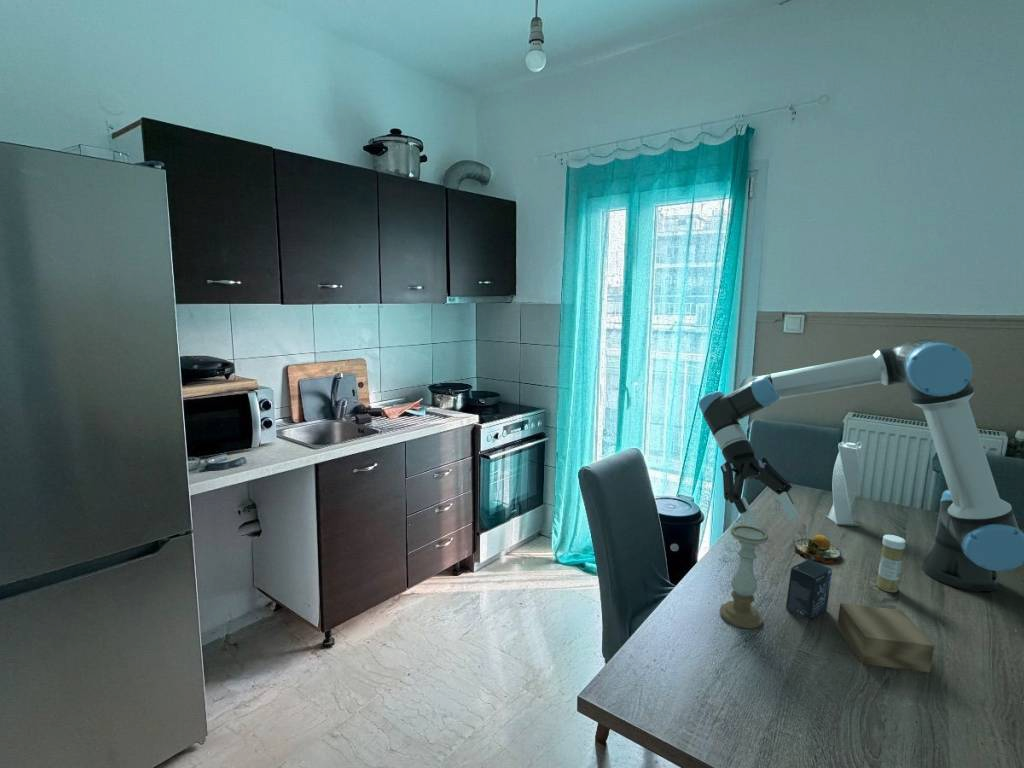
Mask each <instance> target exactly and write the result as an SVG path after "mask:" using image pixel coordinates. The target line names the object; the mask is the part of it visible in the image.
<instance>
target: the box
mask: <svg viewBox="0 0 1024 768" xmlns="http://www.w3.org/2000/svg"><path fill="white" fill-rule="evenodd" d="M832 574H833V568H831V567H830V566H826V565H824V564H823V563H819V562H817V561H816V560H813V561H812V560H811V559H806V560H804V561H802V562H800V563H798V564H795V565H794V566H791V567H790V577H789V582H788V583H789V584H788V591H787V596H786V597H787V598H786V604H785V605H786V606H785V609H786V610H788V611H790V612H792V613H794V614H796V615H797V616H800V617H801V618H803V619H805V620H807V621H810V620H811V619H812V620H813V619H814V618H815V617H817V616H819V615H821V614H823V613H824V612H826V611H827V610H828V604H829V596H830V590H831V589H830V588H831V581H832Z"/></svg>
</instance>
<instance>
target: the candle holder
mask: <svg viewBox="0 0 1024 768" xmlns="http://www.w3.org/2000/svg"><path fill="white" fill-rule="evenodd" d="M730 535H731V537H733V538H734V539H736V540H737V541H738V543H739V544H740V549H739V550H737V555H738V556H739V563H738V567H737V569H736V571H735V572H734V574H733V575H732V577H731V579H730V586H731V588H732V591H731V597H732V600H729V601H727V602H725V603H723V604H722V605H721V606H720V609H719V614H720V616H721V618H722V619H723V620H724V621H726V622H727V623H729V624H730V625H733V626H735V627H738V628H742V629H756V628H759V627H760V626H762V624H763V615H762V614H761V613H760V612H759V611H758V610H757V608H756V607H755V606H753V605H752V604H753V603H754V602H755V599H756V598H755V596H754V595H755V593H757V590H758V583H757V579H756V577H755V573H754V560H755V559H757V557H758V556H757V554H756V552H755V550H756V548H757V547H759V545H763V544H765V543H768V541H769V535H768V533H767V532H766V531H764V530H763V529H761V528H757V527H754V526H747V525H742V524H741V525H734V526H733V527H732V528H731V529H730Z"/></svg>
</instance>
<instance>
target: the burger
mask: <svg viewBox="0 0 1024 768" xmlns="http://www.w3.org/2000/svg"><path fill="white" fill-rule="evenodd" d="M827 535H828V534H826V535H823V534H815V535H814V536H813V537H812V538H811V539H809V538H808V539H807V538H801V539H797V540H795V541H794V542H793V546H794V548H795V549H794V552H795V553H796V555H800V557H801V556H802V554H803V556H804V557H805V558H806V560H808V559H810V560H812V561H815V562H817V561H818V562H819V561H820V562H822V563H821V564H828V563H831V564H836V563H839V562H841V559H842V557H841V556H842V552H841V551H840V549H839V548H838V547H836V546H834V545H832V544H831V541H830V540H829V539H828V537H827Z"/></svg>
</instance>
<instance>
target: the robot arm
mask: <svg viewBox="0 0 1024 768" xmlns="http://www.w3.org/2000/svg"><path fill="white" fill-rule="evenodd" d="M972 377H973V364H972V362H971V359H970V358H969V356H968V355H967V353H965V352H964V351H963V350H962V349H961V348H959V347H958V346H956V345H954V344H951V343H948V342H944V341H936V340H932V339H916V340H913V341H912V340H911V341H908V342H905V343H902V344H898V345H894V346H890V347H886V348H880V349H876V351H875V352H873V354H870V355H864V356H858V357H854V358H848V359H842V360H838V361H837V360H836V361H833V362H828V363H827V362H825V363H822V364H817V365H811V366H806V367H799V368H795V369H791V370H784V371H779V372H774V373H769V374H764V375H749V376H748V377H747V376H746V378H743V380H742V381H741V382H740V385H739V386H738V387H739V388H737V389H735V390H733V391H732V392H730V393H728V394H726V395H725V394H724V393H723V392H721V391H713V392H711V393H708V394H707V393H706V395H704V396H703V397H702V398H701V399H700V400H699V403H698V405H699V409H700V411H701V414H702V417H703V418H704V421H705V422H706V424H707V426H708V428H709V430H710V431H711V434H712V436H713V438H714V441H716V444H717V447H718V448H719V450H720V451H721V454H722V456H723V458H724V461H725V462H724V463H723V464H721V466H720V469H721V472H722V481H723V497H724V498H723V499H724V500H726V501H729V502H730V503H731V504H733V503H734V505H735V507H736V509H737V511H738V513H739V514H741V515H742V518H743V520H744V522H745V525H746V526H751V527H754V525H756V524H758V522H757V519H756V518H755V516H754V513H753V511H752V509H751V507H750V506H749V504H748V501H747V499H746V497H742V494H743V489H744V483H745V480H747V479H751V480H752V479H754V480H757V481H760V482H761V483H762V484H763V485H765V486H766V487H768V488H769V489H770V490H772V491H773V492H775V494H777V496H776V498H777V500H778V501H779V504H780V505H781V507H782V510H783V511H784V513H785V515H786V517H787V519H788V520H789V521H793V520H794V519H796V518H798V517H799V516H800V514H799V513H798V511H797V509H796V507H795V506H794V502H793V500H792V498H791V496H790V494H789V491H790V490H791V489H792V488H793V487H792V485H791V484H790V483H789V482H788V481H787V480H786V479H785V478H784V477H783V476H782V475H781V474H780V473H779V472H778V471H777V470H776V469H775V468H774V467H773V466H772V465H771V463H770V462H769V461H768V459H767V458H766V457H762V458H761V459H760V460H758V459H756V457H755V453H756V452H755V450H754V447H753V446H752V444H751V443H750V441H749V440H748V437H747V434H746V432H745V431H744V429H743V427H742V425H741V424H740V422H739V421H740V420H743V419H745V417H746V418H747V417H748V416H751V415H752V414H754V413H757V412H759V411H760V410H763V409H765V408H767V407H768V408H769V407H771V405H773V404H775V403H776V402H778V401H779V400H782V399H788V398H794V397H799V396H807V395H812V394H817V393H819V394H820V393H823V392H824V393H825V392H831V391H837V390H842V389H849V388H855V387H861V386H867V385H872V384H873V385H874V384H882V385H884V386H891V385H904V384H906V386H907V387H906V388H907V390H908V392H909V396H910V400H911V402H912V405H914V406H916V407H918V408H920V409H922V412H923V415H924V417H925V421H926V424H927V426H928V429H929V432H930V436H931V439H932V442H933V445H934V448H935V451H936V454H937V458H938V460H939V463H940V467H941V470H942V473H943V477H944V479H945V482H946V485H947V488H948V489H946V490H944V491H943V492H942V495H941V499H940V504H939V505H940V506H939V511H938V519H937V524H936V530H935V535H934V536H935V537H934V542H933V544H931V547H930V548H929V549H928V551H927V553H926V554H925V556H924V557H923V559H922V563H921V569H922V570H923V572H924V573H925V574H926V575H928V576H929V577H931V578H933V579H934V580H937V581H938V582H941V583H944V584H946V585H948V586H952V587H955V588H957V589H961V588H963V589H962V590H965V589H968V590H967V591H970V590H973V591H972V592H977V591H990V590H993V589H995V588H996V589H997V585H998V575H997V572H1005V571H1011V570H1013V569H1016V568H1019V567H1020V566H1022V565H1023V564H1024V532H1023V531H1022V530H1020V527H1019V526H1018V522H1017V519H1016V516H1015V514H1014V511H1013V508H1012V505H1011V503H1009V502H1007V501H1005V500H1004V499H1001V498H1000V495H999V492H998V488H997V486H996V482H995V479H994V476H993V473H992V469H991V467H990V464H989V461H988V458H987V455H986V452H985V449H984V445H983V442H982V439H981V437H980V433H979V430H978V427H977V424H976V421H975V417H974V414H973V412H972V409H971V406H970V402H969V400H970V399H971V398H972V397H973V396H974V394H975V389H974V386H973V383H972V380H971V379H972ZM996 589H995V590H996ZM993 591H994V590H993ZM990 592H991V591H990Z"/></svg>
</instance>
